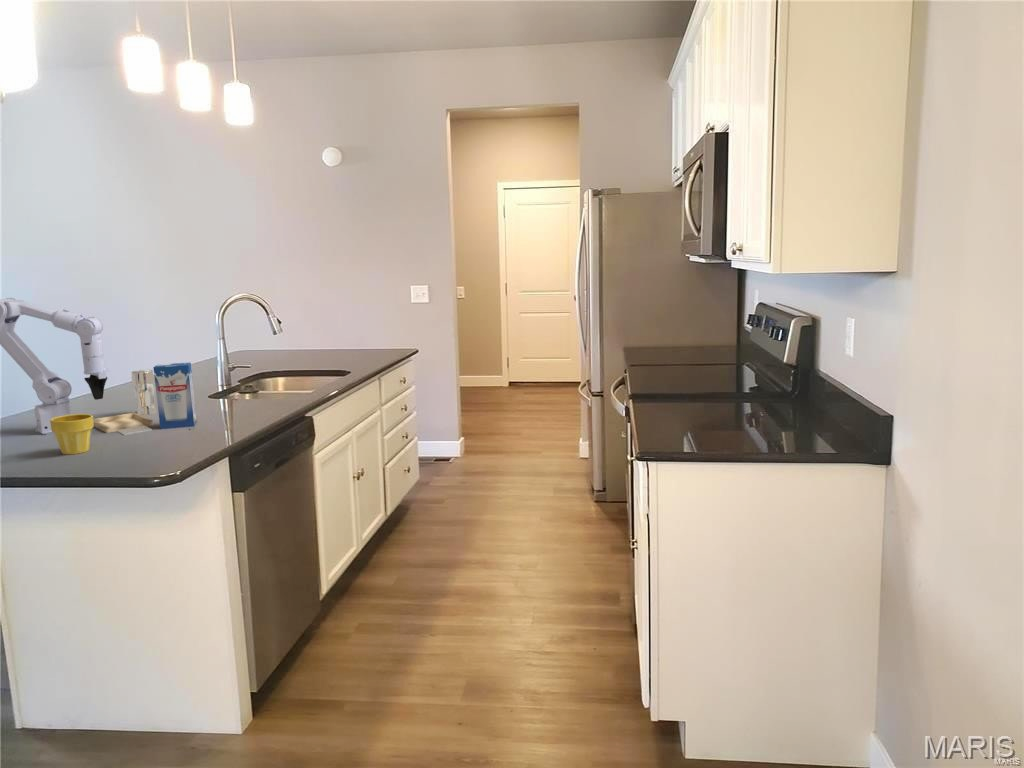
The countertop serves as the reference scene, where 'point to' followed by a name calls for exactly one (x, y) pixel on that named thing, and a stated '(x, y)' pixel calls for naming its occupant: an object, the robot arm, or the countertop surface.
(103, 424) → the tray
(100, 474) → the countertop surface
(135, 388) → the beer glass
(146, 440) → the countertop surface
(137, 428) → the cover plate
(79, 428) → the plant pot
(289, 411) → the countertop surface
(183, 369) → the milk carton
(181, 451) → the countertop surface
